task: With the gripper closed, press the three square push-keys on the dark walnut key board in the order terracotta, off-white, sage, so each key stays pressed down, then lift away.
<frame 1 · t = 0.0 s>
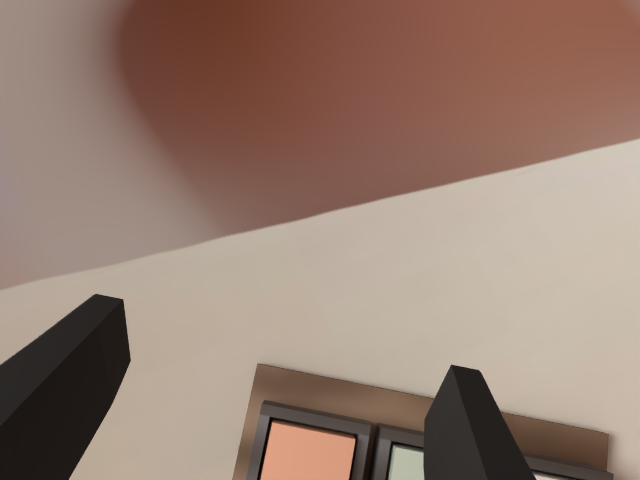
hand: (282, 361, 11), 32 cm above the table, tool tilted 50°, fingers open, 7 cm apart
terracotta key: (305, 472, 37), point 3 cm above the table, slide at 0.0 cm
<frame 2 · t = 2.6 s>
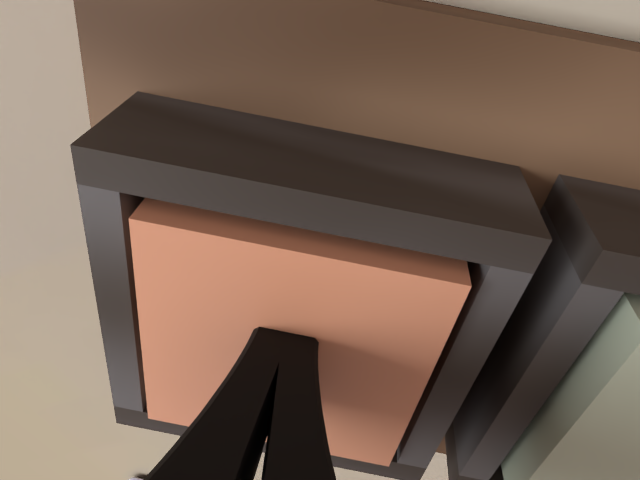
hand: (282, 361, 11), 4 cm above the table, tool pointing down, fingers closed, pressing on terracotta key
key board: (629, 315, 14), on the table
terracotta key: (288, 331, 12), point 3 cm above the table, slide at 0.4 cm, touching gripper
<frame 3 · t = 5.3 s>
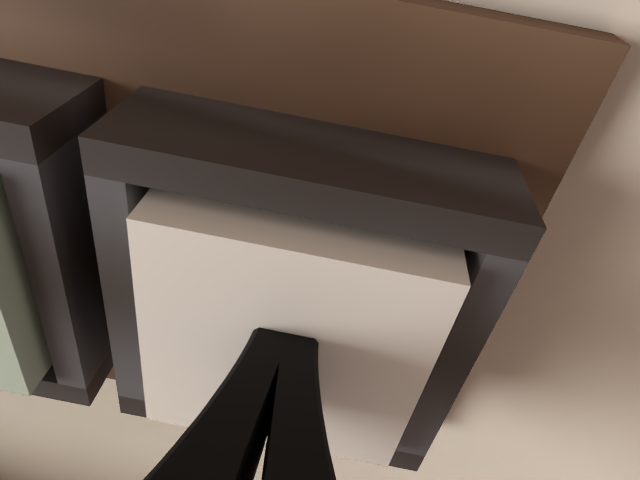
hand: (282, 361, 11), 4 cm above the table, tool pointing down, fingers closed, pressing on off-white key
off-white key: (287, 331, 12), point 3 cm above the table, slide at 0.0 cm, touching gripper
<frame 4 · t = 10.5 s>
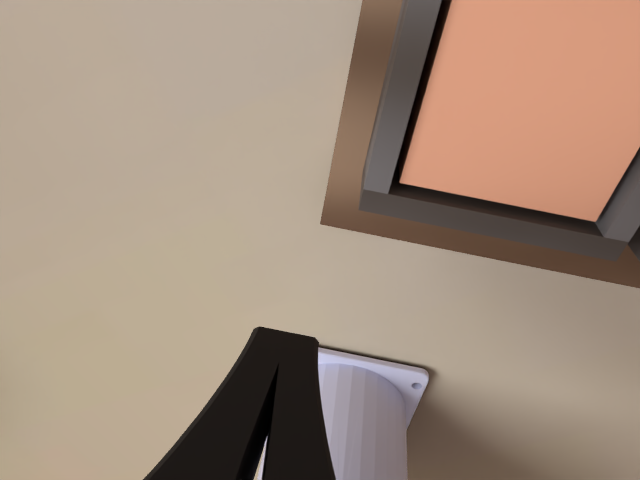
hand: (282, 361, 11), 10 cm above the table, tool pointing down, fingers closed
terracotta key: (530, 95, 15), point 2 cm above the table, slide at 1.0 cm
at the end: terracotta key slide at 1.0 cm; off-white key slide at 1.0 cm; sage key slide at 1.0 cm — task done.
